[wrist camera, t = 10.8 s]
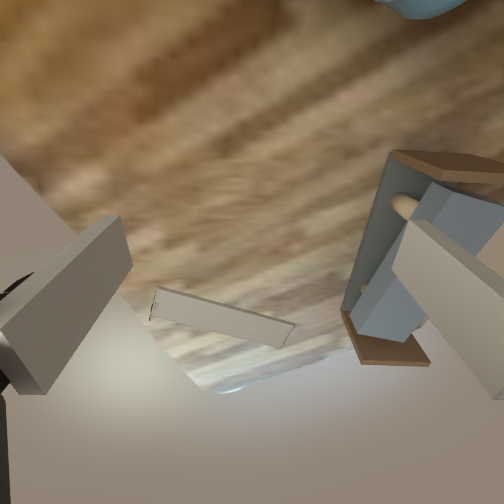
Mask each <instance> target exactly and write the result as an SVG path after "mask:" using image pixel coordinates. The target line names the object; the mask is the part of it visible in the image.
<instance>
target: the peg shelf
mask: <svg viewBox="0 0 504 504" xmlns="http://www.w3.org/2000/svg"><path fill="white" fill-rule="evenodd" d="M432 182H435V183H439V184H442V185H445V186H449V187H452V188H457V186H458V184H459V182H466V183H484V184H501V185H504V163H500V162H497V161H493V160H490V159H486V158H482V157H479V156H475V155H469V154H453V153H437V152H420V151H404V150H393V152H389V154H388V158H387V161H386V164H385V167H384V171H383V174H382V177H381V180H380V183H379V187H378V190H377V193H376V196H375V199H374V203H373V206H372V209H371V212H370V216H369V219H368V222H367V225H366V228H365V232H364V235H363V238H362V241H361V245H360V248H359V251H358V254H357V257H356V261H355V264H354V267H353V270H352V273H351V277H350V280H349V283H348V286H347V290H346V293H345V296H344V299H343V302H342V306H341V309H340V311H341V316H342V319H343V321H344V323H345V326H346V328H347V331H348V333H349V336H350V338H351V341H352V343H353V346H354V348H355V350H356V353H357V355H358V358H359V360H360V363H361V365H390V366H391V365H392V366H421V367H429V365H430V363H431V362H430V360H429V359H428V357H427V355H426V354H425V353H424V351H423V350H422V348H421V347H420V345H419V344H418V342H417V341H416V339H415V338H414V336H413V335H412V333H411V334H410V336H409V337H408V338H407V339H406V341H405V342H404V343H403V342H398V341H393V340H388V339H383V338H377V337H372V336H367V335H362V334H357V331H356V329H355V327H354V325H353V322H352V320H351V318H350V316H349V314H350V313H351V311H352V310H353V308H354V306H355V305H356V303H357V302H358V300H359V298H360V297H361V295H362V294H363V292H364V290H365V289H366V287H367V286H368V284H369V282H370V281H371V279H372V277H373V276H374V274H375V273H376V271H377V269H378V268H379V266H380V265H381V263H382V261H383V260H384V258H385V257H386V255H387V253H388V252H389V250H390V249H391V247H392V245H393V244H394V242H395V241H396V239H397V237H398V236H399V234H400V232H401V231H402V229H403V228H404V226H405V224H406V223H407V221H408V220H409V218H410V216H411V215H412V213H413V212H414V210H415V208H416V207H417V205H418V204H419V202H420V200H421V199H422V197H423V196H424V194H425V192H426V191H427V189H428V187H429V186H430V184H431V183H432Z"/></svg>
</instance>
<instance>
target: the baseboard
mask: <svg viewBox="0 0 504 504" xmlns="http://www.w3.org/2000/svg"><path fill="white" fill-rule="evenodd" d="M155 294H156V296H155V297H154V298H155V301H153V302H154V305H153V304H152V307H153V309H152V307H151V311H152V313H151V314H150V315H151V316H153V317H157V318H161V319H165V320H169V321H173V322H177V323H181V324H185V325H189V326H193V327H197V328H201V329H205V330H209V331H213V332H217V333H221V334H225V335H228V336H232V337H236V338H240V339H244V340H248V341H252V342H256V343H260V344H264V345H268V346H272V347H276V348H279V347H281V346H282V344H283V342H284V341H285V339H286V337H287V336H288V334H289V333H290V332H291V330H292V328H293V327H294V323H292V322H288V321H284V320H281V319H277V318H273V317H270V316H266V315H263V314H259V313H255V312H252V311H248V310H244V309H241V308H237V307H233V306H230V305H226V304H223V303H219V302H215V301H212V300H208V299H204V298H201V297H197V296H193V295H190V294H186V293H183V292H179V291H175V290H172V289H168V288H164V287H161V286H158V288H157V292H155ZM150 319H151V317H150V318H149V321H150Z"/></svg>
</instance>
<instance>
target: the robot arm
mask: <svg viewBox="0 0 504 504" xmlns="http://www.w3.org/2000/svg"><path fill="white" fill-rule="evenodd" d="M374 1H377V2H381V3H384V4H385V5H387V6H388V7H390V8H391V9H392V10H394V11H395V12H397V13H398V14H399V15H401V16H402V17H404V18H406V19H409V20H415V19H418V20H421V19H430V18H433V17H436V16H438V15H441V14H443V13H445V12H448V11H450V10H451V9H453V8H455V7H457V6H459V5H460V4H462V3H464V2H465V1H467V0H374ZM132 267H133V262H132V259H131V255H130V251H129V248H128V244H127V240H126V237H125V233H124V229H123V225H122V222H121V218H120V215H102V216H101V217H100V218H99V219H97V220H96V221H95V222H94V223H93V224H91V225H90V226H89V227H88V228H87V229H85V230H84V231H83V232H82V233H81V234H80V235H78V236H77V237H76V238H75V239H74V240H73V241H71V242H70V243H69V244H68V245H67V246H65V247H64V248H63V249H62V250H60V251H59V252H58V253H57V254H56V255H55V256H53V257H52V258H51V259H50V260H49V261H48V262H46V263H45V264H44V265H43V266H42V267H40V268H39V269H38V270H37V271H35V272H33V273H31V274H29V275H27V276H25V277H23V278H21V279H19V280H18V281H16V282H15V283H13V284H12V285H11V286H10V287H8V288H7V289H6V290H5V291H4V293H3V294H0V504H11V501H10V483H9V462H8V443H7V442H8V441H7V422H6V403H5V400H4V398H3V396H2V395H1V393H2V391H3V390H4V389H5V388H6V387H7V385H8V384H9V383H10V384H11V385H12V386H13V387H14V388H15V390H16V391H17V392H18V394H19V395H46V394H47V392H48V391H49V389H50V388H51V386H52V384H53V383H54V382H55V380H56V379H57V377H58V376H59V374H60V373H61V372H62V370H63V369H64V367H65V366H66V364H67V363H68V361H69V360H70V358H71V357H72V355H73V353H74V352H75V351H76V349H77V348H78V346H79V345H80V343H81V342H82V341H83V339H84V338H85V336H86V335H87V333H88V332H89V330H90V329H91V327H92V326H93V324H94V323H95V321H96V320H97V318H98V317H99V315H100V314H101V312H102V311H103V309H104V308H105V307H106V305H107V304H108V302H109V301H110V299H111V298H112V296H113V295H114V293H115V292H116V290H117V289H118V287H119V286H120V284H121V283H122V281H123V280H124V278H125V277H126V276H127V274H128V273H129V271H130V270H131V268H132ZM391 269H392V271H393V272H394V273H395V275H396V276H397V277H398V279H399V280H400V281H401V282H402V284H403V285H404V286H405V288H406V289H407V290H408V292H409V293H410V294H411V295H412V297H413V298H414V299H415V301H416V302H417V303H418V305H419V306H420V307H421V308H422V310H423V311H424V312H425V314H426V315H427V316H428V318H429V319H430V320H431V321H432V323H433V324H434V325H435V327H436V328H437V329H438V331H439V332H440V333H441V334H442V336H443V337H444V338H445V340H446V341H447V342H448V343H449V345H450V346H451V347H452V349H453V350H454V351H455V353H456V354H457V355H458V357H459V358H460V359H461V361H462V362H463V363H464V364H465V366H466V367H467V368H468V370H469V371H470V372H471V373H472V375H473V376H474V377H475V379H476V380H477V381H478V383H479V384H480V385H481V386H482V388H483V389H484V390H485V392H486V393H487V394H488V396H489V397H490V398H491V400H504V279H503V278H502V277H501V276H499V275H498V274H497V273H495V272H494V271H493V270H491V269H490V268H489V267H487V266H486V265H485V264H483V263H482V262H481V261H479V260H478V259H477V258H475V257H474V256H473V255H472V254H470V253H469V252H468V251H466V250H465V249H464V248H462V247H461V246H460V245H458V244H457V243H456V242H454V241H453V240H452V239H450V238H449V237H448V236H446V235H445V234H444V233H442V232H441V231H440V230H439V229H437V228H436V227H435V226H433V225H432V224H431V223H429V222H428V221H427V220H409V221H408V224H407V227H406V230H405V232H404V235H403V238H402V241H401V244H400V246H399V249H398V252H397V255H396V257H395V260H394V263H393V266H392V268H391Z"/></svg>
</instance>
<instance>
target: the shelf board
mask: <svg viewBox="0 0 504 504" xmlns="http://www.w3.org/2000/svg"><path fill="white" fill-rule="evenodd" d="M409 220H427V221H428V222H429V223H431V224H432V225H433V226H435V227H436V228H437V229H439V230H440V231H441V232H442V233H444V234H445V235H446V236H448V237H449V238H450V239H452V240H453V241H454V242H456V243H457V244H458V245H460V246H461V247H462V248H464V249H465V250H466V251H468V252H469V253H470V254H472V255H473V256H474V257H475V256H476V255H477V254H478V253H479V251H480V250H481V249H482V248H483V246H484V245H485V244H486V243H487V242H488V240H489V239H490V238H491V237H492V236H493V234H494V233H495V232H496V231H497V229H498V228H499V227H500V226H501V225H502V223H503V222H504V205H503V204H500V203H498V202H496V201H494V200H491V199H489V198H487V197H483V196H480V195H476V194H473V193H469V192H466V191H463V190H459V189H456V188H452V187H449V186H445V185H442V184H439V183H435V182H432V183H431V184H430V186H429V187H428V189H427V191H426V192H425V194H424V196H423V197H422V199H421V200H420V202H419V204H418V205H417V207H416V208H415V210H414V212H413V213H412V215H411V216H410V218H409ZM409 220H408V221H409ZM408 221H407V223H406V224H405V226H404V228H403V229H402V231H401V232H400V234H399V236H398V237H397V239H396V241H395V242H394V244H393V245H392V247H391V249H390V250H389V252H388V253H387V255H386V257H385V258H384V260H383V261H382V263H381V265H380V266H379V268H378V269H377V271H376V273H375V274H374V276H373V277H372V279H371V281H370V282H369V284H368V286H367V287H366V289H365V290H364V292H363V294H362V295H361V297H360V298H359V300H358V302H357V303H356V305H355V306H354V308H353V310H352V311H351V313H350V314H349V316H350V318H351V320H352V322H353V325H354V327H355V329H356V331H357V334H362V335H367V336H372V337H377V338H383V339H388V340H393V341H398V342H403V343H404V342H405V341H406V339H407V338H408V337H409V336H410V334H411V333H412V332H413V331H414V330H415V328H416V327H417V326H418V325H419V324H420V322H421V321H422V320H423V319H424V318H425V316H426V314H425V312H424V311H423V310H422V308H421V307H420V306H419V305H418V303H417V302H416V301H415V299H414V298H413V297H412V295H411V294H410V293H409V292H408V290H407V289H406V288H405V286H404V285H403V284H402V282H401V281H400V280H399V279H398V277H397V276H396V275H395V273H394V272H393V271H392V269H391V268H392V266H393V263H394V260H395V257H396V255H397V252H398V249H399V246H400V244H401V241H402V238H403V235H404V232H405V230H406V227H407V224H408Z"/></svg>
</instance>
